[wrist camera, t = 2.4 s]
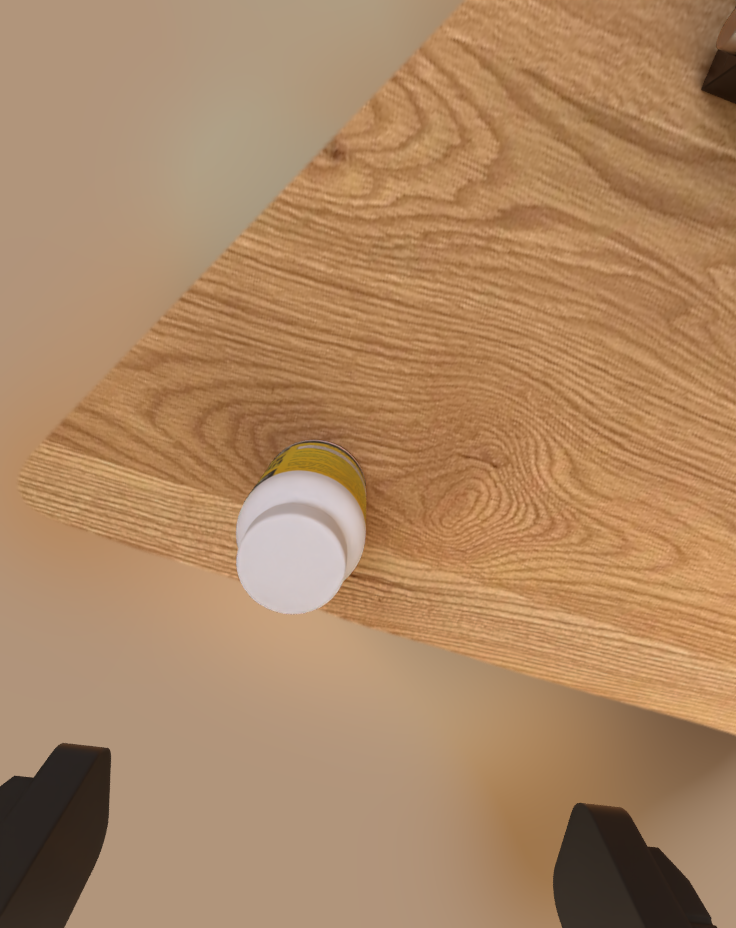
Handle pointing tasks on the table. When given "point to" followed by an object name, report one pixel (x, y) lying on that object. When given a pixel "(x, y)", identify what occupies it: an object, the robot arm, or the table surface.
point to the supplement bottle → (302, 528)
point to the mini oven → (724, 63)
